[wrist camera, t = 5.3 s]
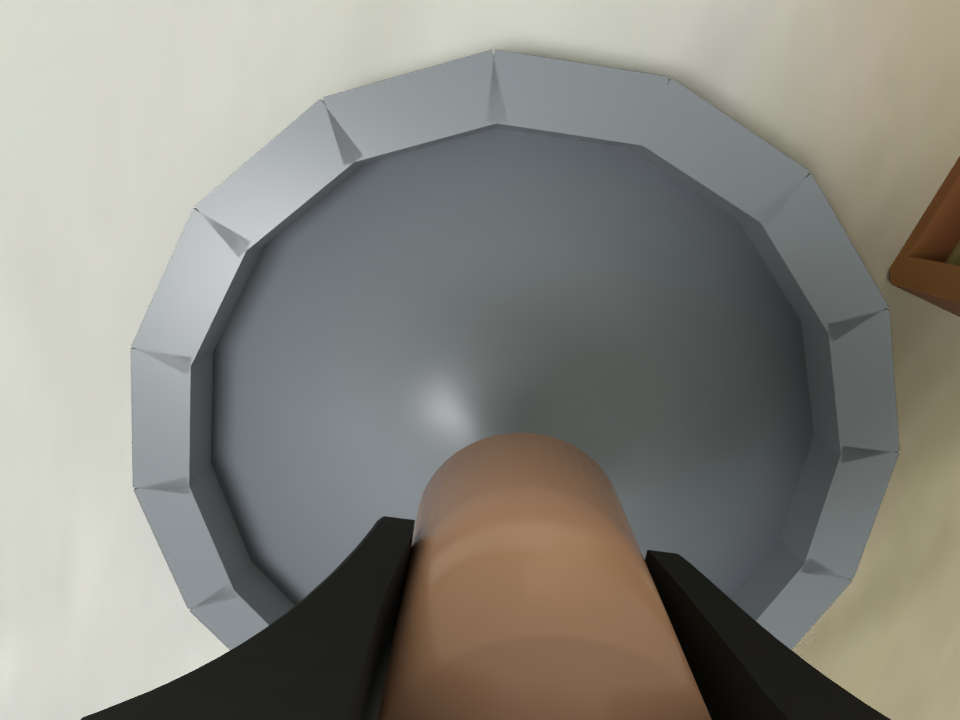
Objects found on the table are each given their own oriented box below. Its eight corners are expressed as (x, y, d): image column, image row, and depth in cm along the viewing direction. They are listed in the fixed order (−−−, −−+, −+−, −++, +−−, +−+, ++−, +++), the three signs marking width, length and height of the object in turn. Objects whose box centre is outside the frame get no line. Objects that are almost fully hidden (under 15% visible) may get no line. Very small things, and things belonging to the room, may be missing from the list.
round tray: (748, 740, 22) (774, 795, 20) (168, 673, 21) (136, 722, 19) (952, 136, 16) (1015, 131, 14) (169, 14, 15) (125, -9, 13)
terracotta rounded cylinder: (599, 625, 14) (677, 923, 9) (405, 601, 14) (354, 888, 9) (641, 447, 13) (764, 660, 7) (429, 419, 13) (387, 613, 7)
